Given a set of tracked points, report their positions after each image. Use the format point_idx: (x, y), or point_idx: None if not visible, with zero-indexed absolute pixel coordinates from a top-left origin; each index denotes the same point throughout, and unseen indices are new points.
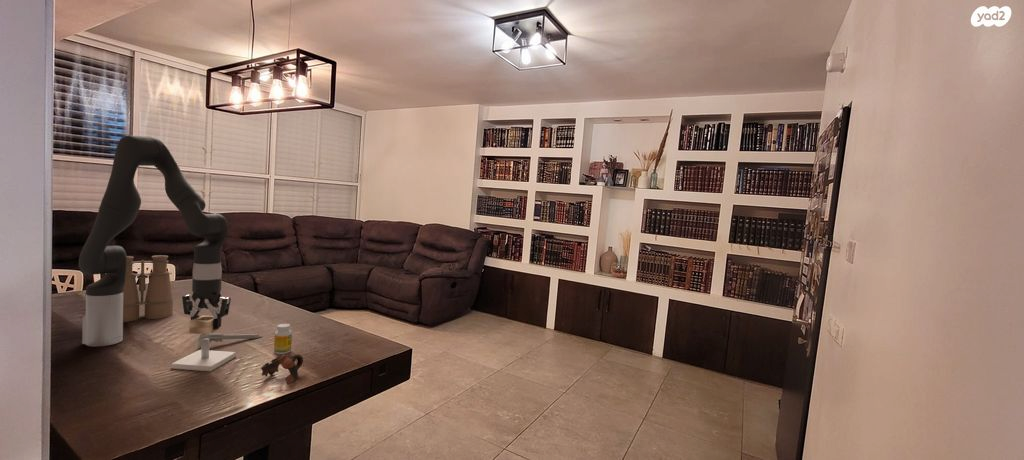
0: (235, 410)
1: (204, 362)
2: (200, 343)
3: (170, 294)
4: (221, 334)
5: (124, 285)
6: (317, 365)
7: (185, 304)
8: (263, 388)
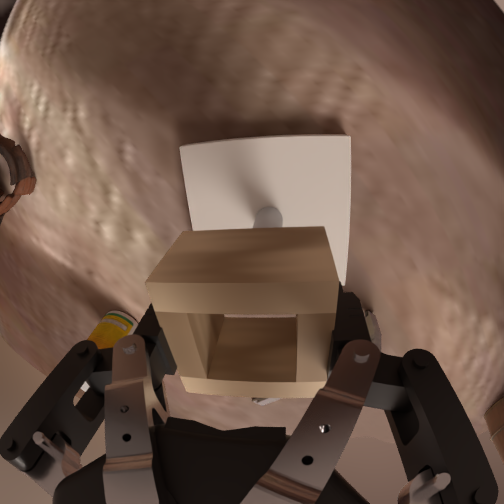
0: (12, 21)
1: (233, 174)
2: (369, 324)
3: (498, 445)
4: None
5: None
6: (16, 259)
7: (449, 435)
8: (11, 113)
